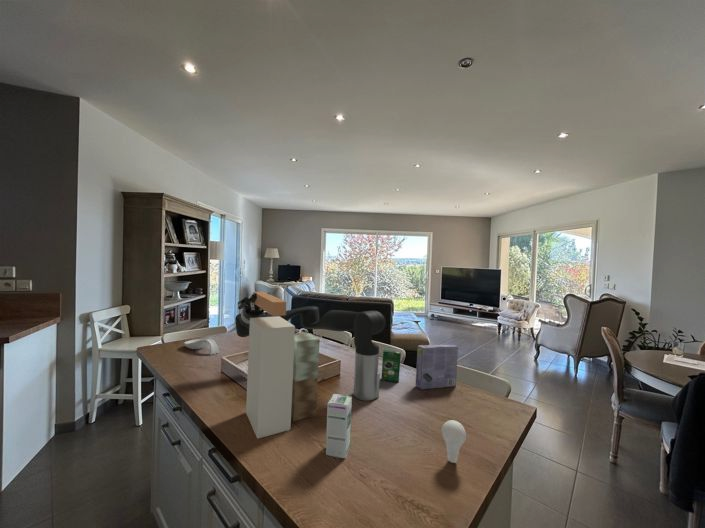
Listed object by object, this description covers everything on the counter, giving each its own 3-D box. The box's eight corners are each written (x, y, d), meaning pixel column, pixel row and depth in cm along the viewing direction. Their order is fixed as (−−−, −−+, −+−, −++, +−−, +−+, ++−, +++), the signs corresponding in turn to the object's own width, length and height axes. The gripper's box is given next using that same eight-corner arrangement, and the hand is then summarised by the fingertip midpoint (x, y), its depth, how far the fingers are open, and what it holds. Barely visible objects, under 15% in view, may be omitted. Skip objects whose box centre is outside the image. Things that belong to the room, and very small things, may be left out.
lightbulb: (436, 454, 81) (438, 415, 81) (458, 454, 82) (460, 415, 82) (445, 470, 75) (448, 428, 75) (468, 470, 76) (470, 428, 76)
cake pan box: (451, 381, 133) (453, 343, 132) (458, 386, 128) (461, 346, 128) (414, 385, 127) (416, 345, 126) (420, 390, 122) (422, 348, 122)
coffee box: (399, 380, 132) (401, 351, 131) (399, 382, 129) (400, 353, 129) (381, 377, 133) (383, 349, 133) (381, 380, 130) (382, 351, 130)
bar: (252, 302, 108) (253, 292, 108) (263, 302, 110) (264, 291, 110) (272, 315, 86) (273, 302, 86) (285, 315, 88) (286, 301, 88)
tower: (307, 404, 106) (310, 333, 105) (316, 415, 99) (319, 338, 98) (285, 409, 101) (288, 335, 101) (293, 421, 95) (296, 341, 94)
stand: (275, 406, 104) (279, 316, 103) (290, 429, 90) (295, 326, 89) (245, 412, 98) (249, 318, 98) (257, 438, 85) (261, 328, 84)
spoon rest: (179, 348, 161) (179, 335, 161) (199, 343, 171) (200, 331, 171) (204, 357, 149) (205, 343, 149) (225, 352, 159) (226, 338, 159)
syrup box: (346, 459, 78) (348, 405, 78) (324, 455, 79) (327, 402, 79) (350, 446, 83) (352, 395, 83) (330, 442, 85) (332, 392, 84)
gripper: (232, 303, 115) (240, 285, 102) (269, 302, 122) (280, 285, 109) (233, 322, 112) (242, 306, 99) (270, 319, 119) (283, 304, 106)
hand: (262, 295), depth 104 cm, fingers closed on bar, 4 cm apart
